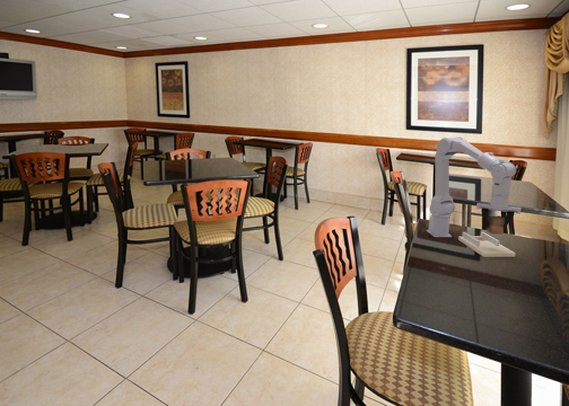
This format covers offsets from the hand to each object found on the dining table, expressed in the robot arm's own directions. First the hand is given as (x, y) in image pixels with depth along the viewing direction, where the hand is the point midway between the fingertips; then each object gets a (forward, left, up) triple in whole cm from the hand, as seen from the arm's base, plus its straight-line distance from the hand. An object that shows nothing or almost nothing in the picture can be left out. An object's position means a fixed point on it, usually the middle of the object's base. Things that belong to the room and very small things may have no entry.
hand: (495, 228), depth 137 cm
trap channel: (-6, 0, -10) cm, 12 cm away
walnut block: (0, 0, -1) cm, 1 cm away
